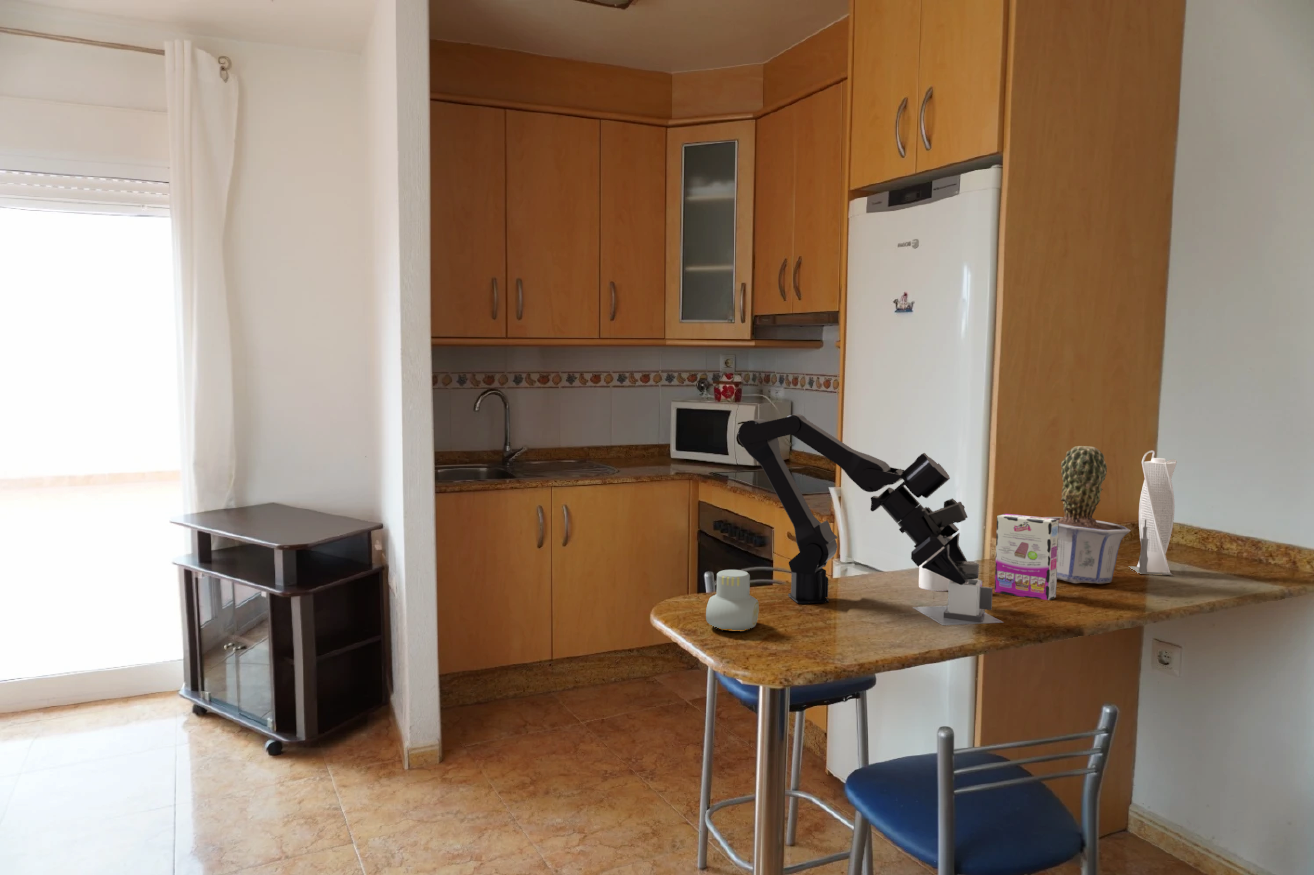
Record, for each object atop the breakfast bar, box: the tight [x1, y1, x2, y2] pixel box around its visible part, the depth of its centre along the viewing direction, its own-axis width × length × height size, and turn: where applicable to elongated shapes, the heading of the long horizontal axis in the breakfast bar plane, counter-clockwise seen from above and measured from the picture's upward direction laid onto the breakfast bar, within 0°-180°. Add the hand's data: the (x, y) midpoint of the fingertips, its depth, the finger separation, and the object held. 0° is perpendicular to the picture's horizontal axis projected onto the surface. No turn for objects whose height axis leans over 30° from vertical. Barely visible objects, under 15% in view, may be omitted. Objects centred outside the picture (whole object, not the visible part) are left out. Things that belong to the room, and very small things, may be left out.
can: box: [918, 561, 950, 592], centre depth 185 cm, size 6×6×12 cm
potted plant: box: [1043, 445, 1132, 585], centre depth 195 cm, size 18×18×30 cm
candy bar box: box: [994, 513, 1059, 601], centre depth 182 cm, size 11×5×16 cm, turn 47°
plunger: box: [954, 560, 980, 584], centre depth 163 cm, size 4×4×8 cm
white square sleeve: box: [944, 578, 994, 622], centre depth 163 cm, size 8×6×6 cm
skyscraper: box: [1128, 449, 1178, 576], centre depth 203 cm, size 8×8×28 cm
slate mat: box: [911, 605, 1005, 626], centre depth 165 cm, size 12×12×1 cm
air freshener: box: [705, 569, 760, 630], centre depth 158 cm, size 11×8×10 cm
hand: (967, 578), depth 163 cm, fingers open, 9 cm apart
